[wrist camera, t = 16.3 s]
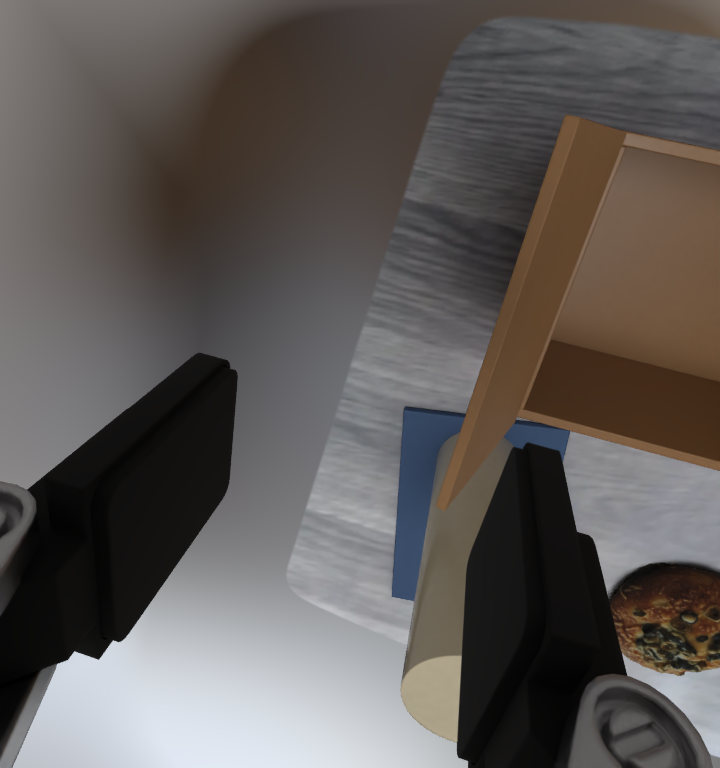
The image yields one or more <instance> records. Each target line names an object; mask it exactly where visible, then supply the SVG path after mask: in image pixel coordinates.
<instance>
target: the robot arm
mask: <svg viewBox="0 0 720 768" xmlns="http://www.w3.org/2000/svg"><path fill="white" fill-rule="evenodd" d="M237 378H238V376H237V372H236V370H233V369H230V364H229V362H228V361H227V360H224V359H221V358H217V357H214V356H210V355H206V354H203V353H198V354H195V355H194V356H193V357H191V358H190V359H189V360H188V361H187V362H185V363H184V364H183V365H182V366H181V367H179V368H178V369H177V370H175V371H174V372H173V373H172V374H171V375H169V376H168V377H167V378H166V379H164V380H163V381H162V382H161V383H159V384H158V385H157V386H156V387H155V388H153V389H152V390H151V391H150V392H149V393H147V394H146V395H145V396H143V397H142V398H141V399H140V400H139V401H137V402H136V403H135V404H134V405H132V406H131V407H130V408H128V409H126V410H125V411H124V412H123V413H122V414H120V415H119V416H118V417H116V418H115V419H114V420H113V421H112V422H110V423H109V424H108V425H106V426H105V427H104V428H103V429H102V430H100V431H99V432H98V433H97V434H95V435H94V436H93V437H92V438H90V439H89V440H88V441H87V442H85V443H84V444H83V445H82V446H81V447H79V448H78V449H77V450H76V451H74V452H73V453H72V454H71V455H69V456H68V457H67V458H66V459H64V460H63V461H62V462H61V463H60V464H58V465H57V466H56V467H55V468H53V469H52V470H51V471H50V472H48V473H47V474H46V475H45V476H43V478H41V479H40V480H39V481H37V482H36V483H35V484H34V485H32V486H31V487H30V488H29V489H27V490H26V489H24V488H22V487H20V486H18V485H15V484H10V483H5V482H0V768H12V767H13V765H14V762H15V760H16V758H17V755H18V753H19V751H20V749H21V747H22V744H23V742H24V740H25V738H26V735H27V733H28V731H29V728H30V726H31V724H32V722H33V719H34V717H35V715H36V712H37V710H38V708H39V706H40V703H41V701H42V699H43V696H44V694H45V692H46V690H47V687H48V685H49V683H50V681H51V678H52V676H53V674H54V671H55V669H56V665H57V664H58V663H61V662H63V661H66V660H68V659H69V658H70V656H71V655H72V654H73V652H74V651H76V652H78V653H81V654H84V655H87V656H90V657H93V658H96V659H100V657H101V656H102V655H103V653H104V652H105V651H106V649H107V648H108V646H109V645H110V643H111V642H112V641H113V640H114V641H117V642H120V641H122V640H123V639H125V638H126V636H127V635H128V634H129V632H130V631H131V630H132V628H133V627H134V625H135V624H136V622H137V621H138V620H139V618H140V617H141V615H142V614H143V612H144V611H145V610H146V608H147V607H148V605H149V604H150V602H151V601H152V600H153V598H154V597H155V595H156V594H157V592H158V591H159V589H160V588H161V587H162V585H163V584H164V582H165V581H166V579H167V578H168V576H169V575H170V574H171V572H172V571H173V569H174V568H175V566H176V565H177V564H178V562H179V561H180V559H181V558H182V556H183V555H184V554H185V552H186V551H187V549H188V548H189V546H190V545H191V543H192V542H193V541H194V539H195V538H196V536H197V535H198V534H199V532H200V531H201V529H202V528H203V526H204V525H205V523H206V522H207V520H208V519H209V518H210V516H211V515H212V513H213V512H214V511H215V509H216V508H217V506H218V505H219V503H220V502H221V501H222V499H223V497H224V496H225V493H226V491H227V488H228V484H229V479H230V467H231V455H232V442H233V429H234V417H235V404H236V392H237ZM457 755H458V757H459V758H461V759H464V760H467V761H468V768H713V767H712V762H711V758H710V754H709V752H708V750H707V748H706V746H705V744H704V742H703V740H702V738H701V736H700V734H699V733H698V731H697V730H696V729H695V727H694V726H693V725H692V723H691V722H690V720H689V719H688V718H687V716H686V715H685V714H684V713H683V712H682V711H681V710H680V709H679V708H678V707H677V706H676V705H675V704H674V703H673V702H672V701H670V700H669V699H668V698H667V697H666V696H664V695H663V694H661V693H660V692H659V691H657V690H656V689H654V688H653V687H651V686H650V685H648V684H646V683H644V682H641V681H639V680H636V679H634V678H632V677H629V676H627V673H626V669H625V665H624V660H623V656H622V652H621V648H620V644H619V640H618V636H617V632H616V628H615V624H614V619H613V615H612V611H611V607H610V603H609V599H608V595H607V591H606V587H605V583H604V579H603V574H602V570H601V566H600V562H599V558H598V554H597V550H596V546H595V543H594V541H593V539H592V538H591V537H590V536H589V535H586V534H582V533H579V532H577V530H576V525H575V520H574V516H573V511H572V506H571V501H570V496H569V492H568V487H567V482H566V477H565V472H564V467H563V463H562V458H561V454H560V451H558V450H555V449H551V448H547V447H544V446H540V445H536V444H533V443H529V442H527V443H526V444H525V445H524V447H523V449H521V448H517V447H513V448H512V450H511V451H510V454H509V456H508V459H507V461H506V464H505V466H504V469H503V471H502V474H501V476H500V479H499V481H498V484H497V486H496V489H495V491H494V494H493V496H492V499H491V501H490V504H489V507H488V509H487V512H486V514H485V517H484V519H483V522H482V524H481V527H480V529H479V532H478V534H477V537H476V539H475V542H474V544H473V547H472V549H471V552H470V555H469V559H468V563H467V569H466V583H465V602H464V621H463V640H462V659H461V678H460V696H459V715H458V734H457Z"/></svg>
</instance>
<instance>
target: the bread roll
mask: <svg viewBox="0 0 720 768" xmlns="http://www.w3.org/2000/svg"><path fill="white" fill-rule="evenodd" d="M624 582H625V583H624V584H623V585H620V586H619V587H618V589H616V591H615V592H614V594H613V597H612V598H611V600H610V607H611V611H612V615H613V619H614V624H615V628H616V632H617V636H618V640H619V644H620V648H621V652H622V653H623V654H624V655H625V656H626V657H627V658H629V659H630V660H632V661H634V662H636V663H639V664H640V665H642V666H643V667H647V668H650V669H653V670H655V671H657V672H660V673H669V674H675V675H677V676H682V675H684V673H685V671H688V672H701V671H703V670H710V669H716V668H719V667H720V576H719V575H717V574H714V573H712V572H709V571H704V570H701V569H694V568H693V567H688V568H687V567H685V566H684V567H682V566H679V565H670V564H666V563H660V564H655V565H651V566H649V567H647V568H643V569H642V570H640V571H638V572H637V573H635V574H633V575H632V576H630V577H628V578H627V579H626V580H625V581H624Z"/></svg>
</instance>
